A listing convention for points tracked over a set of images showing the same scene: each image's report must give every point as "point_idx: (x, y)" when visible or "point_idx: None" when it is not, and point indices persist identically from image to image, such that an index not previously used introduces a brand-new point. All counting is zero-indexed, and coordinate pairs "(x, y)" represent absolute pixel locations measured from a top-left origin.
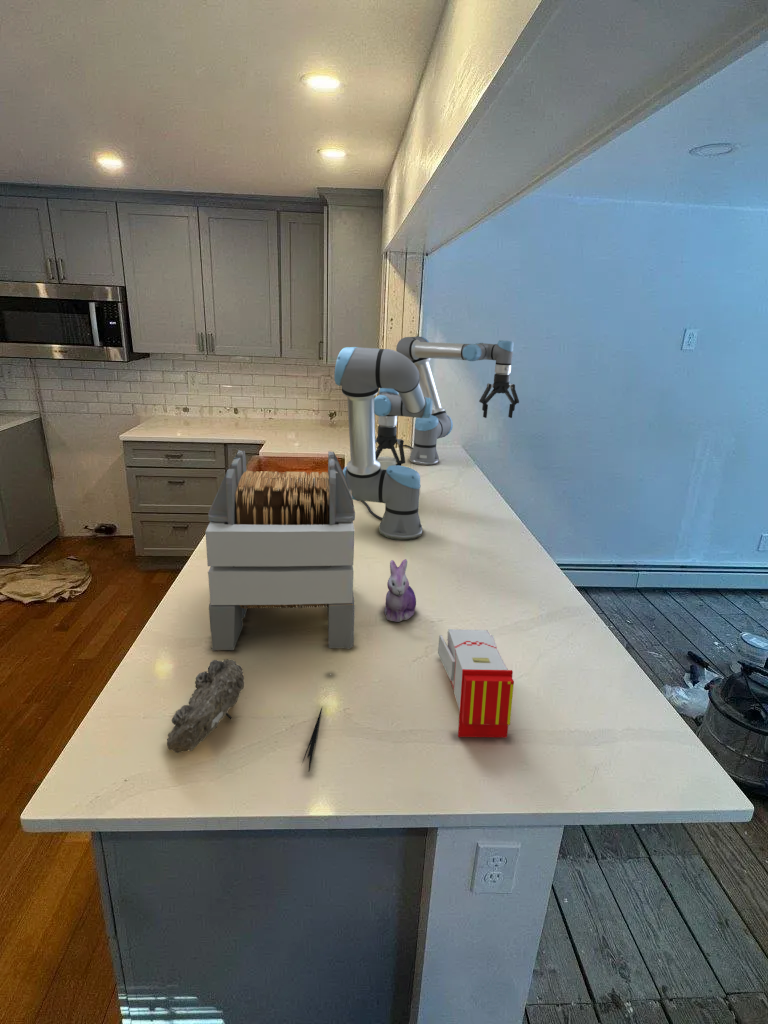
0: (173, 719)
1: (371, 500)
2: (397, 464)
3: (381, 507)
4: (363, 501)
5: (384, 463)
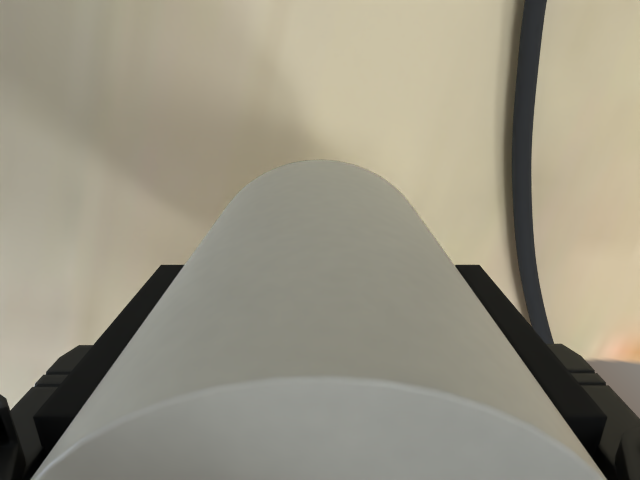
0: None
1: None
2: None
3: (396, 20)
4: (530, 145)
5: (449, 353)
